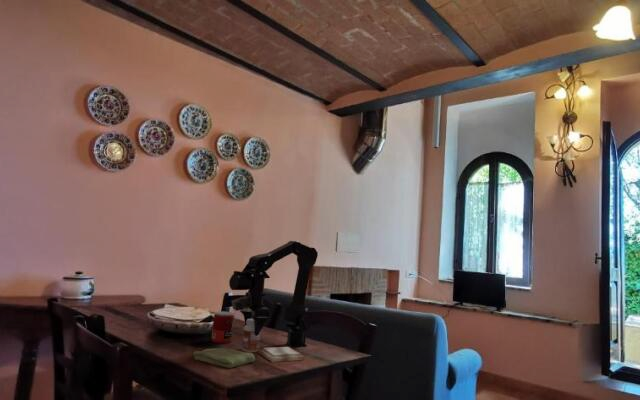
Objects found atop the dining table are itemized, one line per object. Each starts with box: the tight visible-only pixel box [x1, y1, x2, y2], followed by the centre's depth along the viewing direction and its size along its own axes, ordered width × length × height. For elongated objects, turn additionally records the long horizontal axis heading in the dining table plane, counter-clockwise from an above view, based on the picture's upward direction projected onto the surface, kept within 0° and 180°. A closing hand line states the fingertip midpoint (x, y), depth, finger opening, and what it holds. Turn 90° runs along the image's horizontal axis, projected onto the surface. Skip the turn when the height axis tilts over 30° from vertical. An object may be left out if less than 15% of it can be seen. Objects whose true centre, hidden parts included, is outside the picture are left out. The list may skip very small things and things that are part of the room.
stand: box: [258, 346, 305, 363], centre depth 149 cm, size 12×12×2 cm
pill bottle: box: [241, 319, 261, 353], centre depth 155 cm, size 6×6×11 cm
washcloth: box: [193, 347, 256, 369], centre depth 139 cm, size 13×18×3 cm
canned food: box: [211, 310, 235, 345], centre depth 166 cm, size 8×8×11 cm
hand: (251, 333), depth 155 cm, fingers open, 9 cm apart
